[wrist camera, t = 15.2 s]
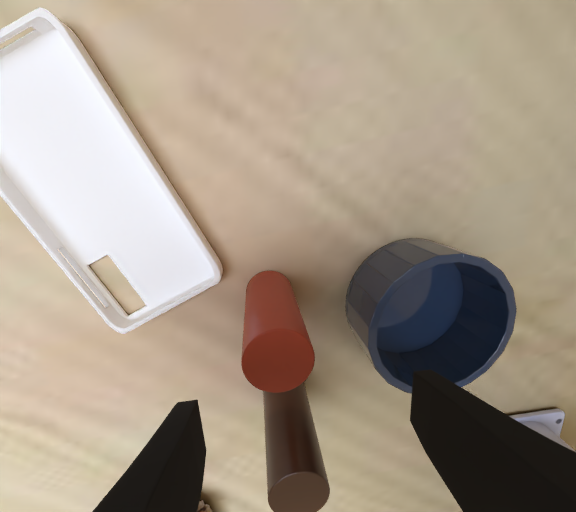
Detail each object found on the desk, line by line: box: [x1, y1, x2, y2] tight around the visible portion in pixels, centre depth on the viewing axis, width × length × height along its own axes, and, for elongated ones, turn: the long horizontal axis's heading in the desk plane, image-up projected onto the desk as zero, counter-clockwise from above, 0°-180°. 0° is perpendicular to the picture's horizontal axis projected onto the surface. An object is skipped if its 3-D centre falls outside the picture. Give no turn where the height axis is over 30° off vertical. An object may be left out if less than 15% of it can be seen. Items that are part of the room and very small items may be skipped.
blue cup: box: [345, 238, 516, 393], centre depth 18 cm, size 9×9×4 cm
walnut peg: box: [263, 382, 330, 512], centre depth 17 cm, size 3×3×8 cm
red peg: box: [241, 271, 315, 393], centre depth 15 cm, size 3×3×8 cm
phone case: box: [0, 8, 223, 334], centre depth 15 cm, size 7×1×15 cm
